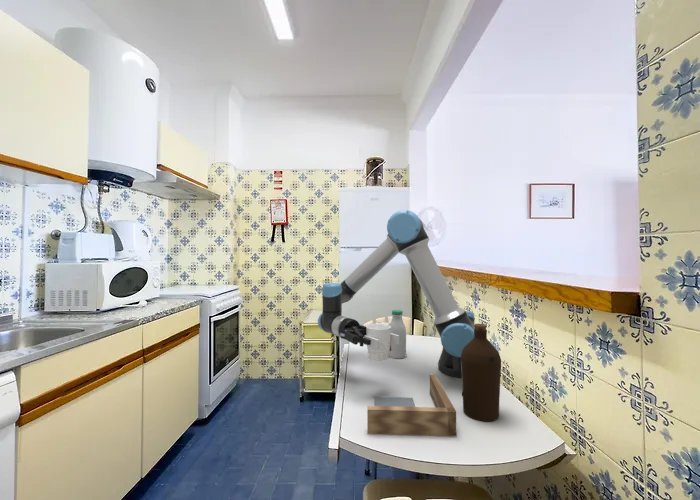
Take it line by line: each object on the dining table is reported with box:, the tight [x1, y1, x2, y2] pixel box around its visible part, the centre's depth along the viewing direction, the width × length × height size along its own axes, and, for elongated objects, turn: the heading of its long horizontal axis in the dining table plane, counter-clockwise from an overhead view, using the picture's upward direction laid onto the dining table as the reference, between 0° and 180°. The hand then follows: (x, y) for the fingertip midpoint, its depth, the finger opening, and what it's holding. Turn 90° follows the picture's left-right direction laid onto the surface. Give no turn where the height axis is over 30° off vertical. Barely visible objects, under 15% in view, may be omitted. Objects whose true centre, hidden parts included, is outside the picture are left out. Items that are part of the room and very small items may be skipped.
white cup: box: [365, 323, 391, 362], centre depth 103 cm, size 8×8×10 cm
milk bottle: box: [389, 309, 407, 359], centre depth 141 cm, size 8×8×20 cm
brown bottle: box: [461, 323, 502, 422], centre depth 91 cm, size 11×11×25 cm
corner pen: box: [366, 374, 457, 437], centre depth 92 cm, size 22×24×6 cm
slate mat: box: [373, 396, 416, 407], centre depth 94 cm, size 12×12×1 cm
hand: (388, 342), depth 99 cm, fingers closed on white cup, 8 cm apart
